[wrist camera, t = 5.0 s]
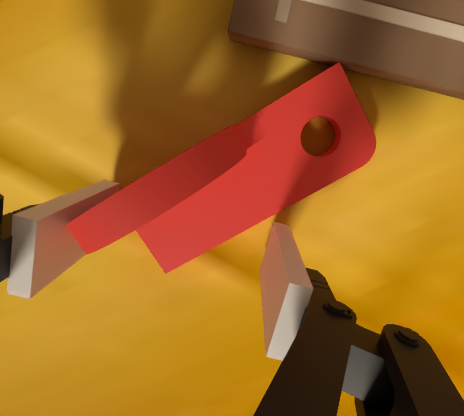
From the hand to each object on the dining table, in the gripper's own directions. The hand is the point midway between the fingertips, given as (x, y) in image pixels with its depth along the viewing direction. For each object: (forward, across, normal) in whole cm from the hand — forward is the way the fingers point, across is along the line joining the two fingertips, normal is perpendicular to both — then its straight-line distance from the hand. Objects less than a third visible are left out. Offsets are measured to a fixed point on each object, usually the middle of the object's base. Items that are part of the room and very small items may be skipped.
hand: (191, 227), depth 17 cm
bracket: (+1, -2, -3) cm, 4 cm away
